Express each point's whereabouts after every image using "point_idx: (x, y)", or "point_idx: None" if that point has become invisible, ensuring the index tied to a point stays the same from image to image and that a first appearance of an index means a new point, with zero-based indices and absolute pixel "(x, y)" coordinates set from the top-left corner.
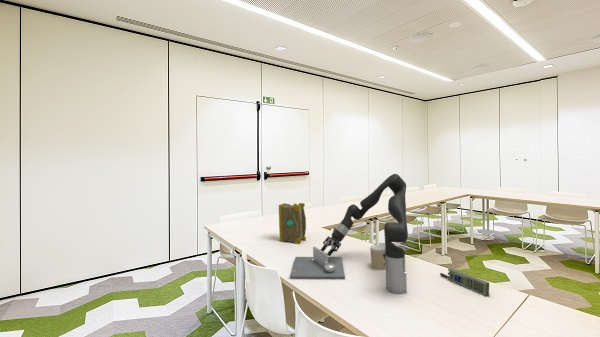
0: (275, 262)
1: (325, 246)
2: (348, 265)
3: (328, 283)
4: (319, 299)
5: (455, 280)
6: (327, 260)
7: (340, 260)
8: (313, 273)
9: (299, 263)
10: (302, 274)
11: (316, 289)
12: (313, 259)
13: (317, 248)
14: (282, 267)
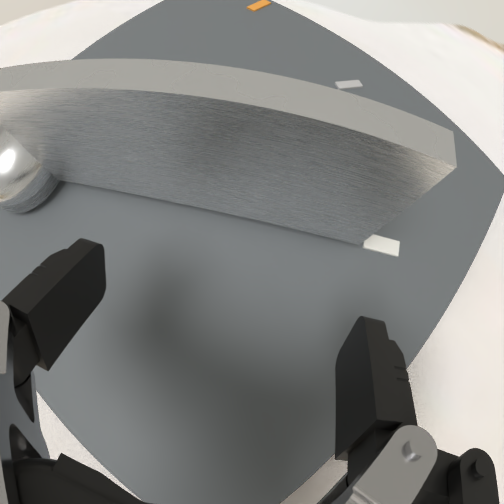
0: (479, 74)
1: (358, 447)
2: (49, 449)
3: None
4: (3, 28)
5: None
6: (19, 136)
7: (131, 471)
8: (117, 58)
9: (367, 91)
10: (172, 13)
11: (35, 36)
12: (379, 248)
13: (299, 104)
14: (394, 39)
